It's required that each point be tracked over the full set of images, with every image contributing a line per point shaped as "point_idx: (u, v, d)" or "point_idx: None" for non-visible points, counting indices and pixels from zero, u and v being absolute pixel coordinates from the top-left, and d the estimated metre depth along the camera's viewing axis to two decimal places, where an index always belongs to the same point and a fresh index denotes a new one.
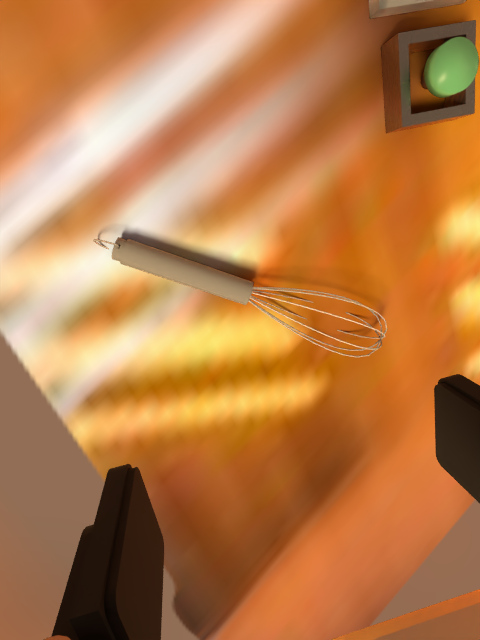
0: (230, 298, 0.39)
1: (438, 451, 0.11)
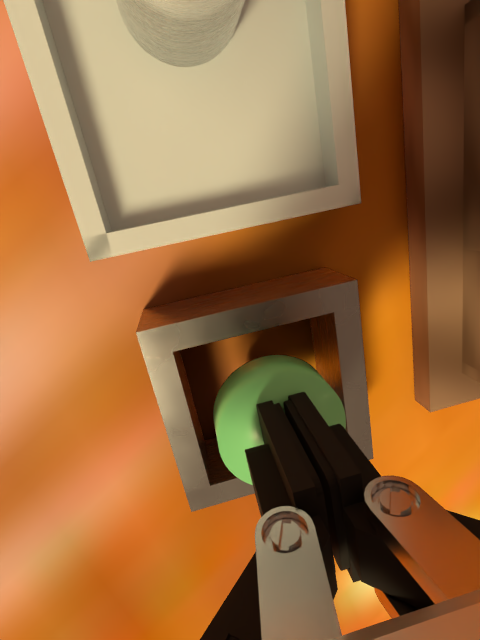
0: None
1: None
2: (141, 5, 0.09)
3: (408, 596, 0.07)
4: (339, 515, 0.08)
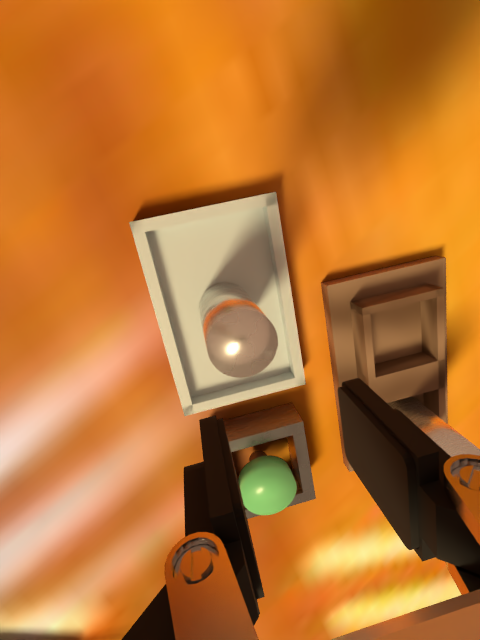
0: None
1: (346, 449, 0.12)
2: None
3: (477, 569, 0.08)
4: (413, 494, 0.08)
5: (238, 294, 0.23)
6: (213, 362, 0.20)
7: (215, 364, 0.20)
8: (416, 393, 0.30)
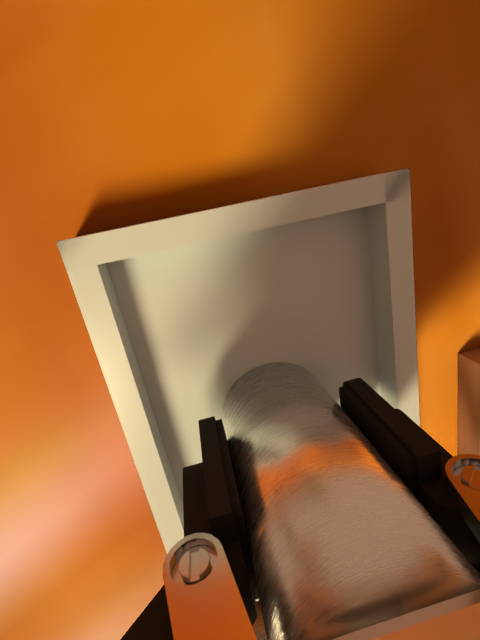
0: None
1: None
2: None
3: (478, 568, 0.08)
4: (415, 493, 0.08)
5: (334, 428, 0.09)
6: None
7: None
8: None
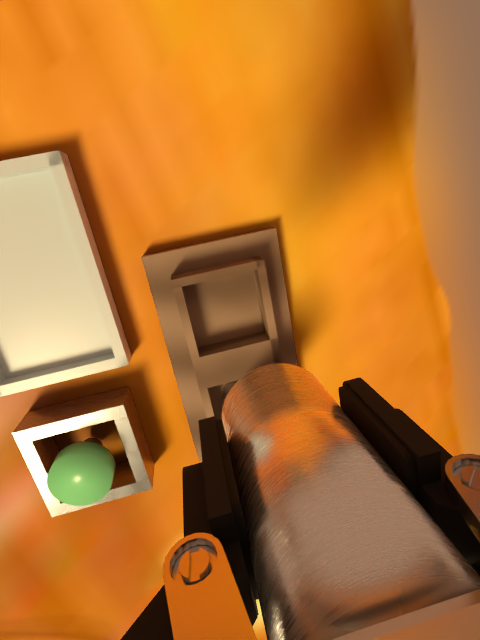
0: None
1: None
2: None
3: (478, 568, 0.08)
4: (415, 493, 0.08)
5: (334, 430, 0.09)
6: None
7: None
8: None
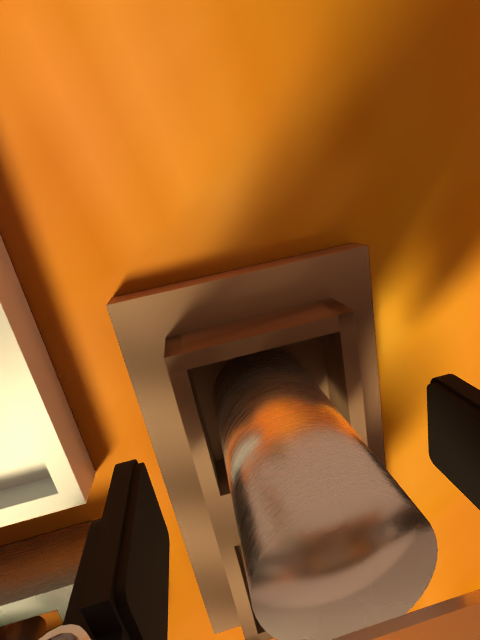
0: None
1: (431, 450, 0.11)
2: None
3: None
4: None
5: (306, 397, 0.10)
6: (266, 625, 0.07)
7: (271, 629, 0.07)
8: None
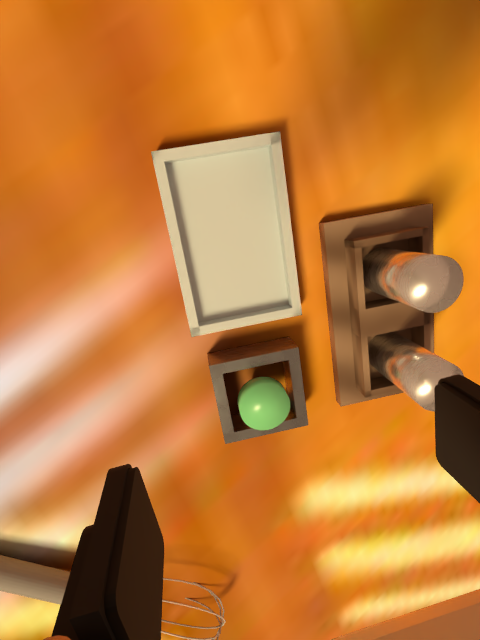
0: None
1: (438, 451, 0.11)
2: (383, 295, 0.30)
3: None
4: None
5: None
6: (411, 297, 0.25)
7: (412, 299, 0.25)
8: (403, 327, 0.32)
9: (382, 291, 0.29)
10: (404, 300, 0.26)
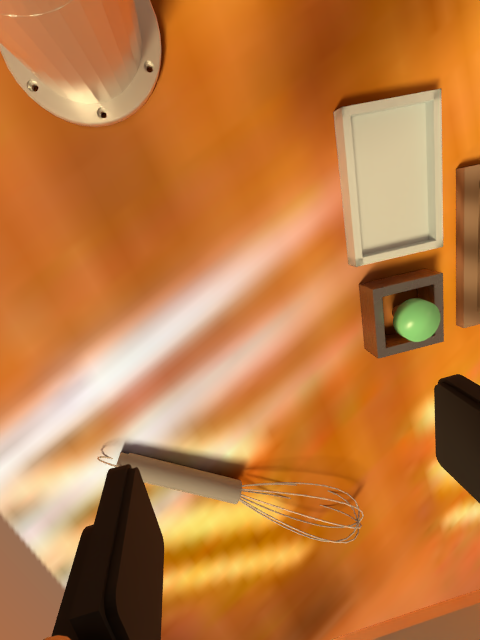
0: (220, 500, 0.43)
1: (438, 451, 0.11)
2: None
3: None
4: None
5: None
6: None
7: None
8: None
9: None
10: None
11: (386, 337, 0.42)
